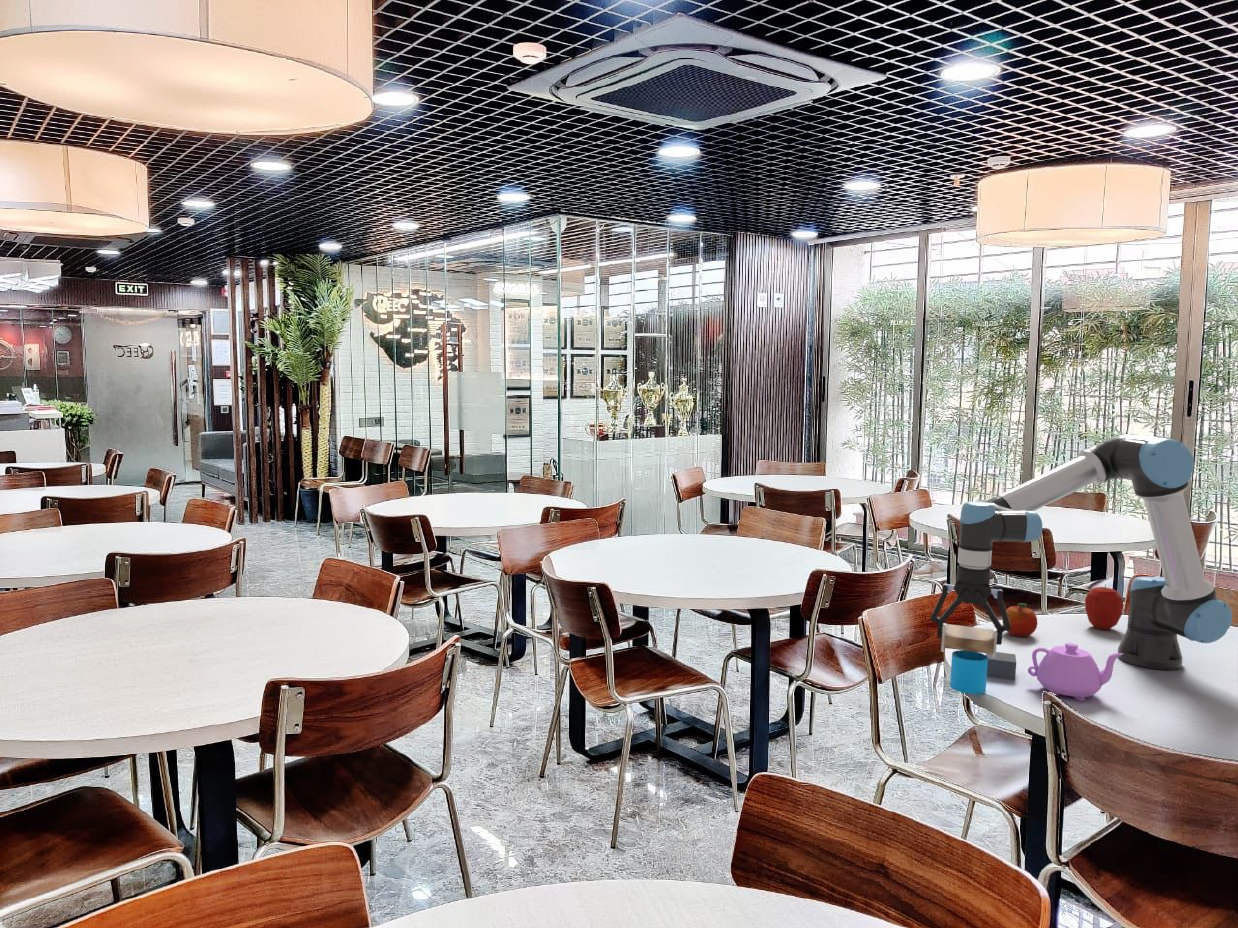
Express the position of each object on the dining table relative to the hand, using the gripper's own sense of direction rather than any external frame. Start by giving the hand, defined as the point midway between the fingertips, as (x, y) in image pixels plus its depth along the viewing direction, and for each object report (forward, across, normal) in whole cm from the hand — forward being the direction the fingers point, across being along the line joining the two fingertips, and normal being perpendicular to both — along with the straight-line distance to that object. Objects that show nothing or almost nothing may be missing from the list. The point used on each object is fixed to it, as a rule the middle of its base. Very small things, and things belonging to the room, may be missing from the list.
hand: (968, 653), depth 221 cm
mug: (+8, 0, 0) cm, 8 cm away
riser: (+8, -8, -13) cm, 17 cm away
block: (-2, 0, 0) cm, 2 cm away
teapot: (+8, -24, -5) cm, 26 cm away
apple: (+8, -38, -72) cm, 82 cm away
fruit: (+8, -14, -53) cm, 55 cm away
